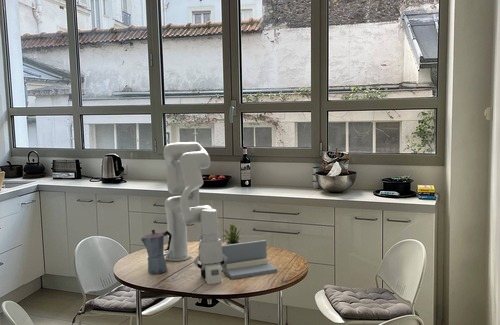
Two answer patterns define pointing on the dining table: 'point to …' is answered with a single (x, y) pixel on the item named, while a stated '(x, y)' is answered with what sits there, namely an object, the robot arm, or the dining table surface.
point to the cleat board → (246, 259)
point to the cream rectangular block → (213, 273)
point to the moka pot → (156, 251)
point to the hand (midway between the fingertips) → (211, 276)
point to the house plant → (232, 235)
